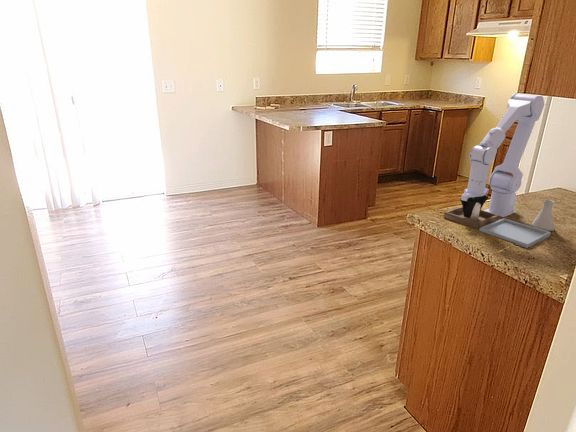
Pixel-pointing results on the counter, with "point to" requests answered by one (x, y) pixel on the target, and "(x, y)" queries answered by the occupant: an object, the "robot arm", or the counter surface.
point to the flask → (545, 217)
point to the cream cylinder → (475, 212)
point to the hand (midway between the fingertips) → (471, 215)
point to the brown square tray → (458, 217)
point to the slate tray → (515, 232)
